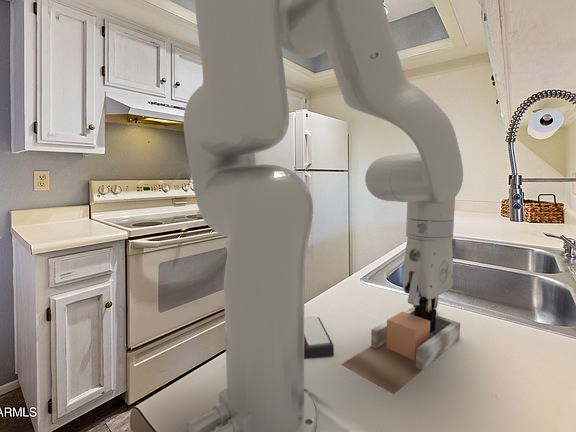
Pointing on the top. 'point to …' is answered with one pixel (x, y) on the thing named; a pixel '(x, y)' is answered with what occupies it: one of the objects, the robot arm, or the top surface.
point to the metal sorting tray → (395, 367)
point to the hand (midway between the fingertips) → (424, 328)
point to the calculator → (316, 339)
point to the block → (407, 334)
